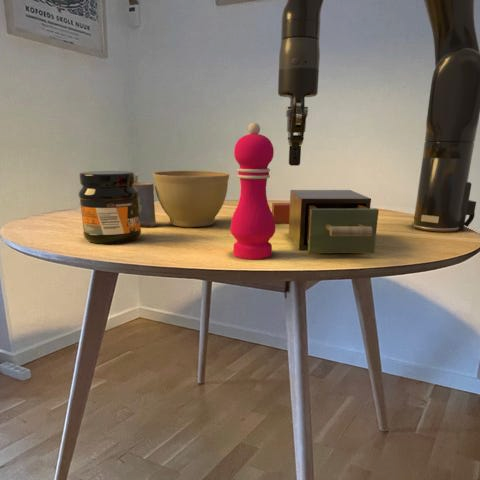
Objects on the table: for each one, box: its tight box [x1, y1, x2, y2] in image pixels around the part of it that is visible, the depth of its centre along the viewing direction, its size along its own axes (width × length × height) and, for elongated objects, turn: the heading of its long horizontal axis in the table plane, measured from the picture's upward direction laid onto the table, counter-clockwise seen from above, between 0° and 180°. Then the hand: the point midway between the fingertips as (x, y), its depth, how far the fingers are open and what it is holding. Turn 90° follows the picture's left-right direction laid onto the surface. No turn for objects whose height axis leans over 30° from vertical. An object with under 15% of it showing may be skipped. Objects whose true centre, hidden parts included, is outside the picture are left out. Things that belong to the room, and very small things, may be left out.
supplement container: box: [78, 170, 142, 245], centre depth 86 cm, size 10×10×12 cm
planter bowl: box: [152, 170, 230, 228], centre depth 101 cm, size 16×16×11 cm
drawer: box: [304, 203, 380, 254], centre depth 76 cm, size 17×10×7 cm, turn 2°
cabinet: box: [288, 189, 372, 251], centre depth 85 cm, size 14×12×9 cm
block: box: [271, 202, 290, 224], centre depth 106 cm, size 4×4×4 cm
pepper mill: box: [229, 122, 276, 260], centre depth 73 cm, size 7×7×20 cm
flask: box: [134, 173, 157, 228], centre depth 100 cm, size 9×3×11 cm, turn 61°
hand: (294, 165), depth 94 cm, fingers closed
